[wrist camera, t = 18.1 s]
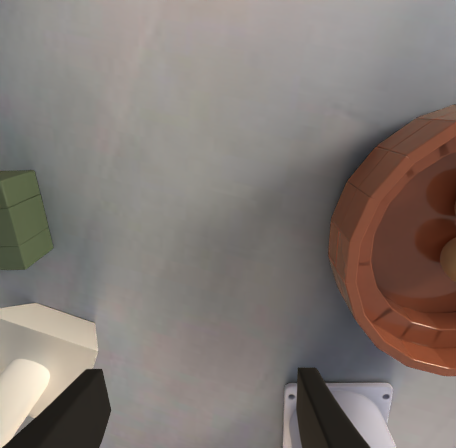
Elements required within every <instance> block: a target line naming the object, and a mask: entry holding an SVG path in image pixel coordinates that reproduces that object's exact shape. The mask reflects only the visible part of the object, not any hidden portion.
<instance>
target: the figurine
mask: <svg viewBox="0 0 456 448" xmlns="http://www.w3.org/2000/svg"><path fill="white" fill-rule="evenodd" d="M97 354H98V345H97V337H96V328H95V323H93V322H90V321H87V320H84V319H81V318H78V317H75V316H72V315H69V314H66V313H63V312H60V311H58V310H55V309H52V308H49V307H46V306H43V305H40V304H37V303H32V304H25V305H18V306H11V307H5V308H0V448H2V447H3V446H4V445H6V444H7V443H8V442H9V441H10V440H11V438H12V437H13V435H14V434H15V433H16V431H17V430H18V428H19V427H20V425H21V424H22V422H23V421H24V419H25V418H26V416H31V417H34V418H36V417H37V416H38V415H39V414H40V413H41V412H42V411H43V410H44V409H45V408H46V407H47V406H48V405H49V404H51V403H52V402H53V401H54V400H55V399H56V398H57V397H58V396H59V395H60V394H61V393H62V392H63V391H64V390H65V389H66V388H67V387H68V386H69V385H70V384H71V383H72V382H73V381H74V380H75V379H76V378H77V377H78V376H79V375H80V374H81V373H82V372H84V371H85V370H86V369H93V366H94V363H95V360H96V357H97Z"/></svg>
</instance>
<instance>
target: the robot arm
mask: <svg viewBox="0 0 456 448" xmlns="http://www.w3.org/2000/svg"><path fill="white" fill-rule="evenodd" d="M290 394H293V395H290ZM384 394H385V395H384ZM392 395H393V388H392V386H391V385H390V384H389V383H325V382H324V380H323V378H322V377H321V375H320V373H319V371H318V370H317V369H316V368H298V379H297V383H288V384H286V386H285V388H284V415H283V446H282V448H397V447H396V445H395V443H394V441H393V438H392V436H391V434H390V432H389V430H388V428H387V422H388V417H389V411H390V406H391V401H392ZM110 412H111V407H110V403H109V398H108V393H107V389H106V384H105V380H104V375H103V371H102V369H86V370H85V371H84V372H82V373H81V374H80V375H79V376H78V377H77V378H76V379H75V380H74V381H73V382H72V383H71V384H70V385H69V386H68V387H67V388H66V389H65V390H64V391H63V392H62V393H61V394H60V395H59V396H58V397H57V398H56V399H55V400H54V401H53V402H52V403H51V404H49V405H48V406H47V407H46V408H45V409H44V410H43V411H42V412H41V413H40V414H39V415H38V416H37V417H36V418H35V419H34V420H33V421H31V422H30V423H29V424H28V425H27V426H26V427H25V428H24V429H22V430H21V431H20V432H19V433H18V434H17V435H16V436H15V437H13V438H12V439H11V440H10V441H9V442H8V443H7V444H6V445H4V446H3V447H2V448H99V447H100V444H101V442H102V439H103V436H104V433H105V429H106V426H107V423H108V419H109V416H110Z"/></svg>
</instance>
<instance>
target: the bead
mask: <svg viewBox="0 0 456 448" xmlns="http://www.w3.org/2000/svg"><path fill="white" fill-rule="evenodd" d="M440 264H441V267H442V269H443V271H444V273H445V274H446V275H447V276H448V277H449V278H450V279H451V280H453V281H454V282H456V238H454V239H452V240H450V241H449V242H448V243H447V244H446V245H445V246H444V247H443V249H442V251H441V254H440Z"/></svg>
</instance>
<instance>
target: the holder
mask: <svg viewBox="0 0 456 448" xmlns="http://www.w3.org/2000/svg"><path fill="white" fill-rule="evenodd" d="M52 249H53V244H52V240H51V236H50V231H49V228H48V223H47V219H46V215H45V210H44V206H43V202H42V198H41V195H40V191H39V187H38V183H37V179H36V175H35V171H33V170H24V171H0V270H25V269H27V268H28V267H30V266H31V265H32V264H34V263H35V262H36V261H37V260H39V259H40V258H41V257H43V256H44V255H45V254H47V253H48V252H49V251H50V250H52Z"/></svg>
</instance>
